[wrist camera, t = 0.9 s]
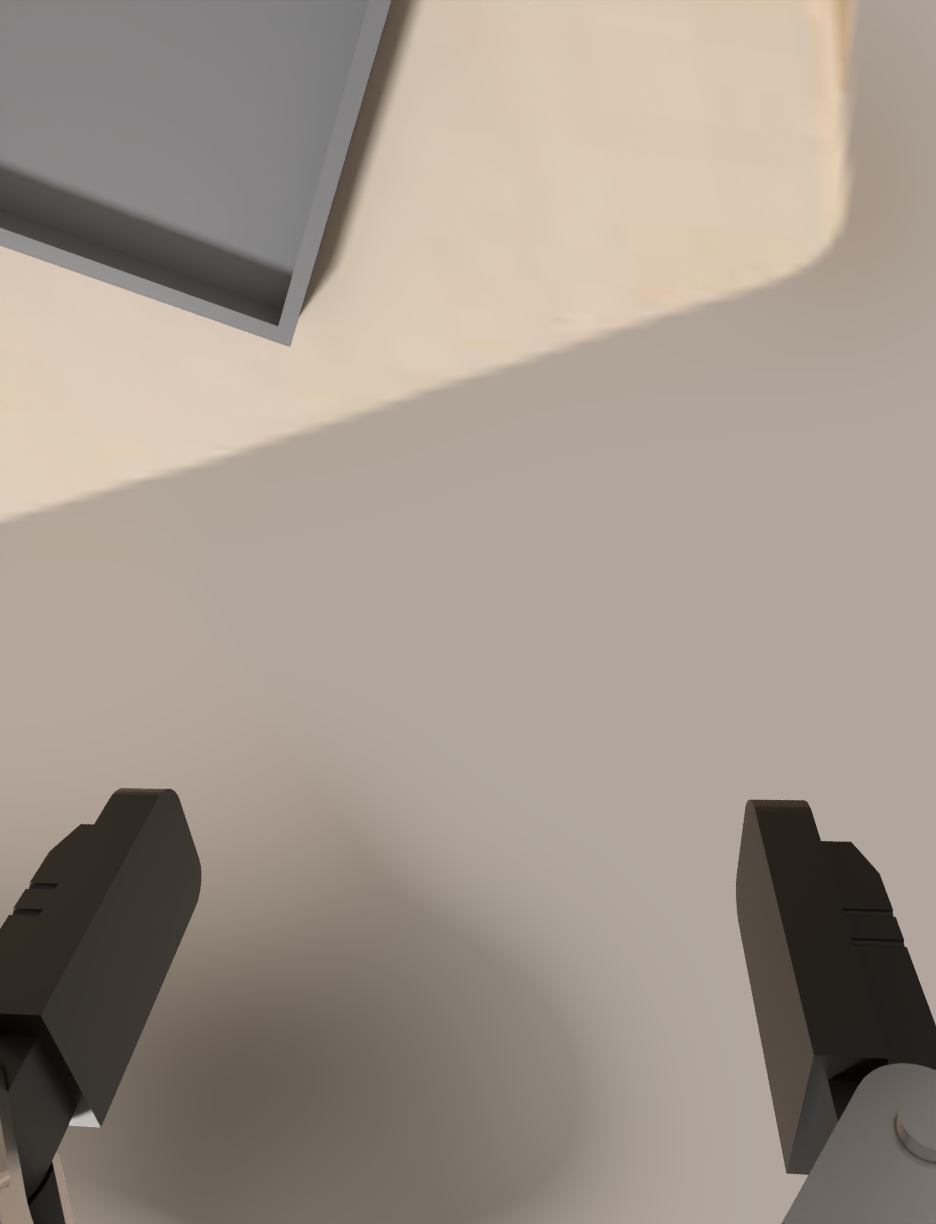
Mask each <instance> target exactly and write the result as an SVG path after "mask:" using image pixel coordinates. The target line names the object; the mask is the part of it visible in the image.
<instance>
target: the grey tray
mask: <svg viewBox="0 0 936 1224" xmlns="http://www.w3.org/2000/svg"><path fill="white" fill-rule="evenodd" d="M390 4H391V0H0V246H3V247H6V248H9V249H12V250H14V251H17V252H20V253H23V254H26V255H29V256H32V257H34V258H37V259H40V260H43V261H46V262H49V263H52V264H54V265H57V266H60V267H63V268H66V269H69V270H72V271H74V272H77V273H80V274H83V275H86V276H89V277H92V278H94V279H97V280H100V281H103V282H106V283H109V284H112V285H114V286H117V287H120V288H123V289H126V290H129V291H132V292H134V293H137V294H140V295H143V296H146V297H149V298H152V299H154V300H157V301H160V302H163V303H166V304H169V305H172V306H174V307H177V308H180V309H183V310H186V311H189V312H192V313H194V314H197V315H200V316H203V317H206V318H209V319H212V320H214V321H217V322H220V323H223V324H226V325H229V326H232V327H234V328H237V329H240V330H243V331H246V332H249V333H252V334H254V335H257V336H260V337H263V338H266V339H269V340H272V341H274V342H277V343H280V344H283V345H286V346H289V347H290V346H291V342H292V339H293V336H294V332H295V329H296V325H297V322H298V318H299V315H300V312H301V308H302V305H303V301H304V298H305V294H306V291H307V288H308V284H309V281H310V277H311V274H312V271H313V267H314V264H315V260H316V257H317V253H318V250H319V247H320V243H321V240H322V236H323V233H324V229H325V226H326V223H327V219H328V216H329V212H330V209H331V206H332V202H333V199H334V195H335V192H336V188H337V185H338V182H339V178H340V175H341V171H342V168H343V164H344V161H345V158H346V154H347V151H348V147H349V144H350V141H351V137H352V134H353V130H354V127H355V123H356V120H357V117H358V113H359V110H360V106H361V103H362V99H363V96H364V93H365V89H366V86H367V82H368V79H369V75H370V72H371V69H372V65H373V62H374V58H375V55H376V52H377V48H378V45H379V41H380V38H381V34H382V31H383V28H384V24H385V21H386V17H387V14H388V10H389V7H390Z"/></svg>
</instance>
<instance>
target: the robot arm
mask: <svg viewBox="0 0 936 1224" xmlns="http://www.w3.org/2000/svg"><path fill="white" fill-rule="evenodd" d="M200 887H201V865H200V860H199V857H198V854H197V851H196V848H195V845H194V842H193V839H192V836H191V833H190V830H189V827H188V824H187V821H186V818H185V815H184V812H183V809H182V806H181V803H180V800H179V797H178V795H177V794H176V792H175V791H174V790H172V789H133V788H130V789H129V788H121V789H119V790H117V791H116V792H115V793H114V794H113V795H112V796H111V798H110V799H109V801H108V802H107V804H106V806H105V807H104V809H103V811H102V812H101V814H100V816H99V817H98V819H97V821H96V822H95V824H94V825H90V824H88V825H87V824H81V825H79V826H78V827H77V828H76V829H75V830H74V831H72V832H71V833H70V834H69V835H68V836H67V837H66V838H64V839H63V840H62V841H61V842H60V843H59V844H58V845H57V846H55V847H54V848H53V849H52V850H51V851H50V852H49V853H48V855H47V856H46V858H45V859H44V861H43V863H42V864H41V866H40V868H39V869H38V871H37V872H36V874H35V875H34V877H33V878H32V880H31V882H30V887H29V889H25V891H24V892H23V894H22V896H21V897H20V899H19V900H18V902H17V903H16V905H15V907H14V908H13V909H14V912H13V915H9V916H8V918H7V919H6V921H5V922H4V924H3V925H2V927H1V929H0V1224H74V1222H73V1216H72V1212H71V1207H70V1203H69V1198H68V1193H67V1189H66V1185H65V1180H64V1175H63V1170H62V1166H61V1162H60V1159H59V1156H58V1154H57V1153H56V1151H57V1149H58V1147H59V1145H60V1142H61V1140H62V1138H63V1136H64V1134H65V1132H66V1129H67V1127H68V1125H70V1126H86V1127H101V1126H102V1124H103V1121H104V1119H105V1117H106V1114H107V1112H108V1110H109V1107H110V1105H111V1102H112V1100H113V1098H114V1096H115V1093H116V1091H117V1089H118V1086H119V1084H120V1082H121V1079H122V1077H123V1075H124V1072H125V1070H126V1068H127V1065H128V1063H129V1061H130V1058H131V1056H132V1054H133V1051H134V1049H135V1047H136V1044H137V1042H138V1040H139V1037H140V1035H141V1033H142V1030H143V1028H144V1026H145V1023H146V1021H147V1019H148V1016H149V1014H150V1011H151V1009H152V1007H153V1004H154V1002H155V1000H156V998H157V995H158V993H159V991H160V988H161V986H162V984H163V981H164V979H165V977H166V974H167V972H168V970H169V968H170V965H171V963H172V961H173V958H174V955H175V954H176V951H177V949H178V947H179V944H180V942H181V940H182V937H183V935H184V933H185V930H186V928H187V926H188V923H189V921H190V918H191V916H192V914H193V912H194V909H195V907H196V904H197V901H198V898H199V893H200ZM736 902H737V914H738V922H739V927H740V932H741V938H742V943H743V948H744V953H745V959H746V964H747V969H748V974H749V979H750V985H751V990H752V996H753V1000H754V1006H755V1011H756V1016H757V1022H758V1027H759V1032H760V1037H761V1043H762V1047H763V1053H764V1058H765V1064H766V1068H767V1073H768V1079H769V1085H770V1090H771V1095H772V1100H773V1105H774V1111H775V1116H776V1121H777V1126H778V1131H779V1137H780V1142H781V1147H782V1153H783V1157H784V1163H785V1167H786V1173H789V1174H805V1175H808V1177H807V1179H806V1181H805V1182H804V1184H803V1186H802V1188H801V1189H800V1191H799V1193H798V1195H797V1197H796V1199H795V1200H794V1202H793V1204H792V1206H791V1207H790V1209H789V1211H788V1213H787V1215H786V1216H785V1218H784V1220H783V1222H782V1224H936V1025H935V1022H934V1019H933V1017H932V1014H931V1012H930V1009H929V1006H928V1003H927V1001H926V998H925V995H924V993H923V990H922V987H921V984H920V982H919V979H918V976H917V974H916V971H915V968H914V965H913V963H912V960H911V958H910V955H909V952H908V949H907V947H904V938H903V936H902V933H901V930H900V928H899V925H898V922H897V920H896V917H893V909H892V906H891V903H890V901H889V898H888V895H887V893H886V890H885V887H884V885H883V882H882V879H881V876H880V874H879V873H878V871H876V869H875V868H874V867H873V866H872V865H871V864H870V862H869V861H868V860H867V859H866V858H865V857H864V856H863V855H862V854H861V852H860V851H859V850H858V849H857V848H856V847H855V846H854V845H853V843H851V842H833V841H821V840H820V837H819V833H818V830H817V827H816V824H815V820H814V817H813V814H812V811H811V808H810V806H809V804H808V803H807V802H806V801H804V800H801V801H800V800H748V801H747V804H746V808H745V815H744V823H743V831H742V838H741V846H740V854H739V861H738V869H737V879H736Z"/></svg>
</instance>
